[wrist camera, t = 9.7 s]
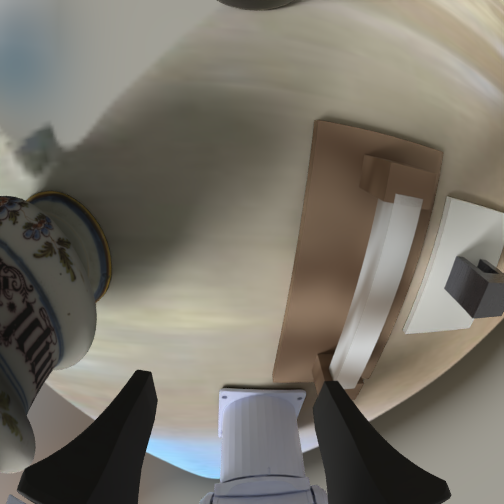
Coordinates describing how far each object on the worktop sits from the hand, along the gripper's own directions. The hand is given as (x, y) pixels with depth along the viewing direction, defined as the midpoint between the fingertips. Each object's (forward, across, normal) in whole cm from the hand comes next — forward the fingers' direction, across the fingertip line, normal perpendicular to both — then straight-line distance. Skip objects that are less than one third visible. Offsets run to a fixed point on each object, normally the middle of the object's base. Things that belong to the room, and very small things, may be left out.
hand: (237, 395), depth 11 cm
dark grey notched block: (+9, -19, -2) cm, 21 cm away
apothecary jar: (+10, +14, -1) cm, 17 cm away
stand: (+9, -8, -1) cm, 12 cm away
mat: (+9, -19, -2) cm, 21 cm away
